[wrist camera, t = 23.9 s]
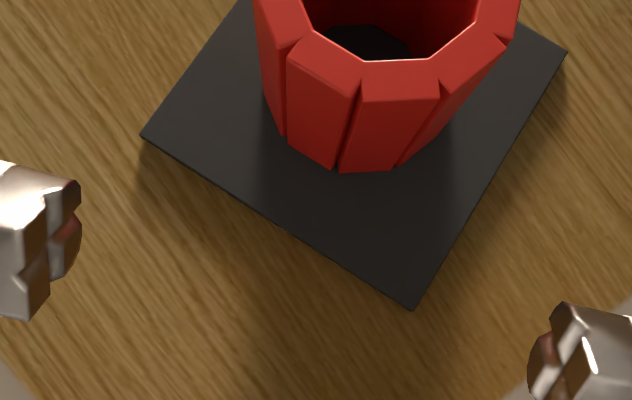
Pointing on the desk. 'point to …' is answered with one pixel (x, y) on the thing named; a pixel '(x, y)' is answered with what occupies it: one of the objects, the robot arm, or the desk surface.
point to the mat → (329, 185)
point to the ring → (374, 74)
